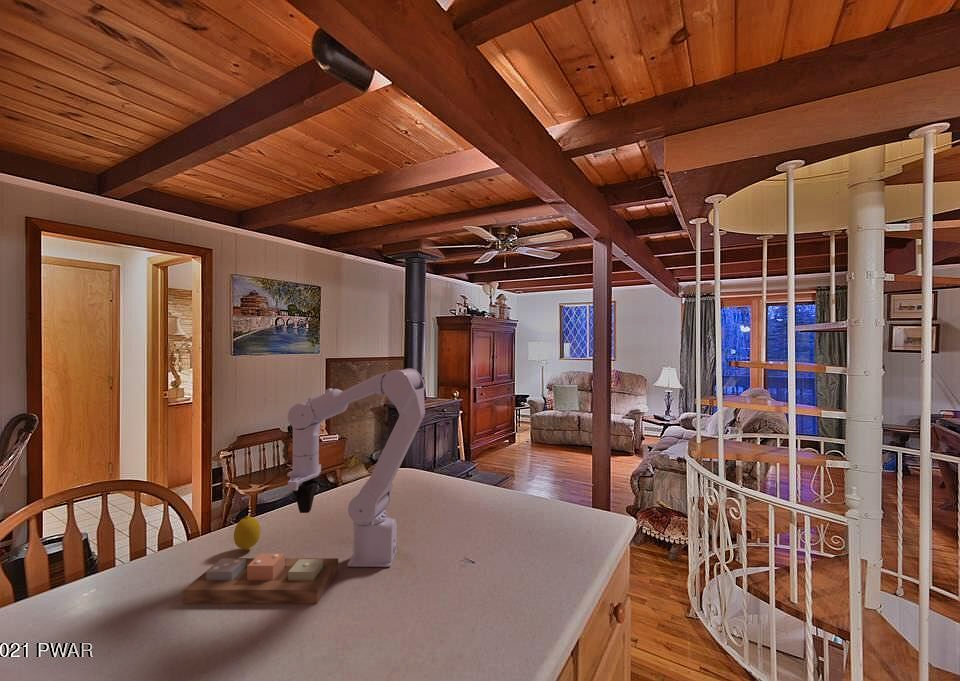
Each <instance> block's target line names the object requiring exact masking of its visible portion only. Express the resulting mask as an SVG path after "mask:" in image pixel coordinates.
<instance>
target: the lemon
mask: <svg viewBox="0 0 960 681" xmlns="http://www.w3.org/2000/svg"><path fill="white" fill-rule="evenodd" d="M260 537H261V524H260V522H259V520H257V518H255V517H253V516H250V515H245V517H243V518H242V519H240V521H238V522H237V523H236V525H235V528H234V532H233V541H234V544H235V545H236V547H238V548H240V549H243V550H244V551H249V550H250V549H251V548H253V547H254V546H255V545H256V544H257V543H258V541H259V540H260Z"/></svg>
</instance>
